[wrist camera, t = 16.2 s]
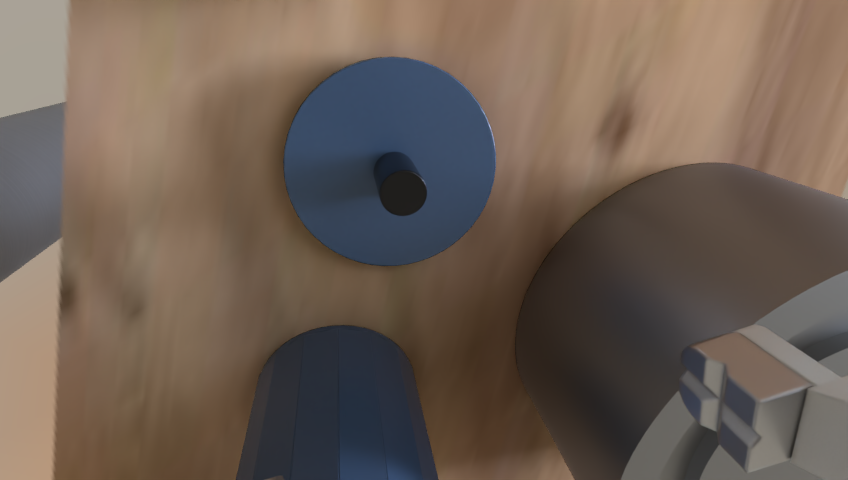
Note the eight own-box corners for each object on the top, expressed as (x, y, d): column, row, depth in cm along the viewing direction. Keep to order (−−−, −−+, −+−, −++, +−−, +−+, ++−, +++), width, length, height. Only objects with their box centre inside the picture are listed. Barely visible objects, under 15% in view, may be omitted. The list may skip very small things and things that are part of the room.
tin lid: (312, 273, 29) (307, 320, 24) (259, 73, 23) (240, 82, 19) (494, 239, 30) (523, 276, 25) (483, 42, 25) (518, 43, 20)
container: (480, 239, 30) (577, 374, 18) (821, 111, 30) (1134, 158, 19) (547, 469, 41) (634, 647, 29) (796, 371, 42) (981, 506, 30)
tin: (280, 458, 35) (251, 685, 23) (237, 344, 30) (170, 554, 18) (421, 425, 36) (465, 623, 24) (402, 310, 31) (445, 485, 19)
